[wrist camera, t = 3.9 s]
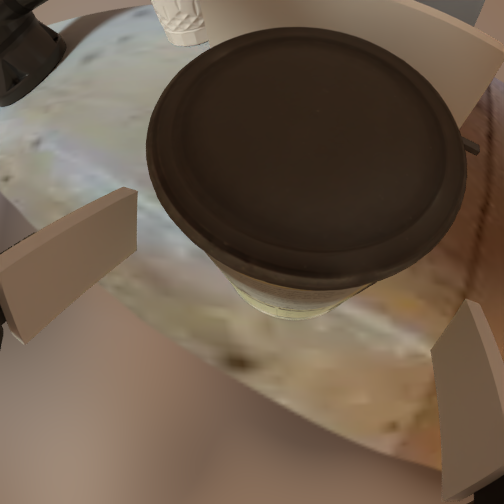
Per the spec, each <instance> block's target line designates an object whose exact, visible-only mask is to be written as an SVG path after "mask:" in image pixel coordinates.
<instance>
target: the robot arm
mask: <svg viewBox="0 0 504 504" xmlns="http://www.w3.org/2000/svg"><path fill="white" fill-rule="evenodd" d="M46 1H48V0H0V107H5V106H8V105H10V104H12V103H14V102H16V101H17V100H19V99H20V98H22V97H23V96H24V95H26V94H27V93H28V92H29V91H31V90H32V89H33V88H34V87H35V86H36V85H37V84H39V83H40V82H41V81H42V80H43V79H44V78H45V77H46V76H47V75H48V74H49V72H50V71H51V70H52V69H53V68H54V67H55V66H56V64H57V63H58V62H59V60H60V59H61V57H62V56H63V54H64V52H65V49H66V44H65V42H64V41H63V39H62V37H61V36H60V35H59V34H58V33H56V32H55V31H53V30H52V29H50V28H49V27H47V26H46V25H44V24H43V23H41V22H40V21H38V20H37V18H36V17H35V15H34V14H33V12H32V10H33V9H35V8H36V7H38V6H39V5H41V4H43V3H45V2H46ZM137 194H138V191H136V190H132V189H129V188H126V187H122V188H120V189H117V190H115V191H113V192H111V193H109V194H107V195H105V196H103V197H101V198H99V199H97V200H95V201H93V202H91V203H89V204H87V205H85V206H83V207H81V208H79V209H77V210H76V211H74V212H72V213H70V214H68V215H66V216H64V217H62V218H61V219H59V220H57V221H55V222H53V223H52V224H50V225H48V226H46V227H45V228H43V229H41V230H39V231H38V232H35V233H33V234H31V235H29V236H28V237H26V238H24V239H23V240H22V241H19V242H18V243H16V244H15V245H14V246H13V247H12V246H11V247H10V248H8V249H7V250H5V251H3V252H2V253H0V349H1V343H2V338H3V328H2V324H3V323H5V321H7V324H8V326H9V329H10V331H11V333H12V335H13V336H14V337H16V338H17V339H18V340H19V341H20V342H21V343H23V344H24V345H26V344H27V343H28V342H29V341H30V340H31V339H32V338H34V337H35V336H36V335H37V334H38V333H39V332H40V331H41V330H42V329H43V328H44V327H46V326H47V325H48V324H49V323H50V322H51V321H52V320H53V319H54V318H56V317H57V316H58V315H59V314H60V313H61V312H62V311H64V310H65V309H66V308H67V307H68V306H69V305H71V304H72V303H73V302H74V301H75V300H76V299H77V298H79V297H80V296H81V295H82V294H83V293H85V292H86V291H87V290H88V289H89V288H91V287H92V286H93V285H94V284H95V283H97V282H98V281H99V280H100V279H101V278H103V277H104V276H105V275H106V274H108V273H109V272H110V271H111V270H112V269H114V268H115V267H116V266H117V265H119V264H120V263H121V262H123V261H124V260H125V259H126V258H128V257H129V256H130V255H131V254H133V253H134V252H135V251H137ZM430 351H431V356H432V362H433V369H434V375H435V382H436V390H437V398H438V407H439V418H440V431H441V448H442V501H460V500H462V499H464V498H466V497H468V496H470V495H472V494H474V501H472V502H470V503H468V504H504V363H503V360H502V357H501V354H500V352H499V349H498V346H497V344H496V341H495V339H494V336H493V334H492V331H491V329H490V326H489V324H488V322H487V319H486V317H485V315H484V312H483V310H482V308H481V306H480V304H479V303H476V302H474V301H471V300H468V299H465V300H464V302H463V303H462V305H461V306H460V308H459V310H458V311H457V313H456V314H455V316H454V317H453V319H452V320H451V322H450V323H449V325H448V326H447V328H446V329H445V331H444V332H443V334H442V335H441V337H440V338H439V339H438V341H437V342H436V344H435V345H434V346H433V348H432V349H431V350H430Z"/></svg>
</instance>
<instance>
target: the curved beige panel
mask: <svg viewBox="0 0 504 504" xmlns="http://www.w3.org/2000/svg"><path fill="white" fill-rule="evenodd" d="M199 2H200V6H201V10H202V14H203V19H204V23H205V27H206V31H207V35H208V40H209V44H210V48H212V47H214V46H216V45H218V44H220V43H222V42H224V41H227V40H229V39H232V38H234V37H237V36H240V35H243V34H246V33H250V32H254V31H259V30H264V29H270V28H279V27H311V28H321V29H328V30H333V31H338V32H342V33H346V34H349V35H353V36H356V37H359V38H362V39H364V40H367V41H369V42H372V43H374V44H376V45H378V46H380V47H382V48H384V49H386V50H388V51H389V52H391V53H393V54H394V55H396V56H397V57H399V58H401V59H402V60H404V61H405V62H406V63H408V64H409V65H410V66H412V67H413V68H414V69H415V70H417V71H418V72H419V73H420V74H421V75H422V76H423V77H425V78H426V79H427V80H428V81H429V83H430V84H431V85H432V86H433V87H434V88H435V89H436V91H437V92H438V93H439V94H440V96H441V97H442V99H443V100H444V101H445V103H446V105H447V106H448V108H449V110H450V111H451V113H452V115H453V117H454V119H455V121H456V124H457V126H458V129H460V128H461V126H462V125H463V123H464V122H465V120H466V119H467V118H468V116H469V115H470V113H471V112H472V110H473V109H474V107H475V106H476V104H477V103H478V101H479V100H480V98H481V97H482V95H483V94H484V92H485V91H486V89H487V87H488V86H489V84H490V83H491V81H492V80H493V78H494V76H495V75H496V73H497V71H498V70H499V68H500V67H501V65H502V63H503V62H504V46H503V44H502V43H501V42H499V41H498V40H496V39H494V38H493V37H491V36H489V35H487V34H485V33H484V32H482V31H480V30H478V29H476V28H475V27H473V26H471V25H469V24H467V23H465V22H463V21H461V20H459V19H457V18H455V17H452V16H450V15H448V14H446V13H444V12H441V11H439V10H437V9H434V8H432V7H430V6H427V5H425V4H422V3H419V2H417V1H414V0H199ZM461 137H462V136H461ZM462 140H463V143H464V148H465V150H466V151H468V152H470V153H472V154H474V155H476V156H477V154H478V153H479V152H480V149H479V145H478V144H476V143H474V142H472V141H470V140H468V139H466V138H464V137H462Z"/></svg>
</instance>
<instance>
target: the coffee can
mask: <svg viewBox="0 0 504 504" xmlns="http://www.w3.org/2000/svg"><path fill="white" fill-rule="evenodd" d="M146 160H147V165H148V170H149V175H150V179H151V181H152V184H153V187H154V190H155V192H156V195H157V197H158V199H159V201H160V203H161V205H162V206H163V208H164V209H165V211H166V212H167V214H168V215H169V217H170V218H171V219H172V220H173V221H174V223H175V224H176V225H177V226H178V227H179V228H180V229H181V231H182V232H183V233H184V234H185V235H186V236H187V237H188V238H189V239H190V240H191V241H192V242H194V243H195V244H196V245H197V246H198V247H200V248H201V249H202V250H204V251H205V253H206V254H207V255H208V256H209V257H210V259H211V260H212V261H213V262H214V263H215V264H216V266H217V267H218V268H219V269H220V270H221V271H222V273H223V274H224V275H225V276H226V278H227V279H228V280H229V281H230V282H231V283H232V285H233V287H234V288H235V289H236V291H237V292H238V294H239V295H240V296H241V297H242V298H243V299H244V300H245V301H246V302H247V303H249V304H250V305H251V306H253V307H254V308H256V309H257V310H259V311H261V312H263V313H264V314H267V315H270V316H273V317H276V318H281V319H288V320H302V319H310V318H314V317H318V316H321V315H323V314H325V313H327V312H329V311H331V310H333V309H334V308H336V307H337V306H339V305H340V304H341V303H343V302H344V301H346V300H348V299H349V298H351V297H353V296H354V295H356V294H358V293H360V292H361V291H363V290H364V289H366V288H368V287H369V286H371V285H373V284H375V283H376V282H377V281H380V280H383V279H385V278H388V277H390V276H393V275H395V274H397V273H399V272H401V271H402V270H404V269H406V268H408V267H410V266H411V265H413V264H414V263H416V262H417V261H418V260H420V259H421V258H422V257H423V256H425V255H426V254H427V253H429V252H430V251H431V250H432V249H433V248H434V247H435V246H436V245H437V244H438V243H439V242H440V241H441V239H442V238H443V237H444V235H445V234H446V233H447V232H448V230H449V228H450V227H451V225H452V224H453V222H454V220H455V218H456V215H457V213H458V211H459V209H460V207H461V203H462V200H463V197H464V193H465V188H466V178H467V161H466V153H465V148H464V143H463V140H462V137H461V134H460V131H459V129H458V126H457V124H456V121H455V119H454V117H453V115H452V113H451V111H450V110H449V108H448V106H447V105H446V103H445V101H444V100H443V99H442V97H441V96H440V94H439V93H438V92H437V91H436V89H435V88H434V87H433V86H432V85H431V84H430V83H429V81H428V80H427V79H426V78H425V77H423V76H422V75H421V74H420V73H419V72H418V71H417V70H415V69H414V68H413V67H412V66H410V65H409V64H408V63H406V62H405V61H404V60H402V59H401V58H399V57H397V56H396V55H394V54H393V53H391V52H389V51H388V50H386V49H384V48H382V47H380V46H378V45H376V44H374V43H372V42H369V41H367V40H364V39H362V38H359V37H356V36H353V35H349V34H346V33H342V32H338V31H333V30H328V29H321V28H311V27H279V28H270V29H264V30H259V31H254V32H250V33H246V34H243V35H240V36H237V37H234V38H232V39H229V40H227V41H224V42H222V43H220V44H218V45H216V46H214V47H212V48H210V49H209V50H207V51H205V52H204V53H202V54H200V55H199V56H198V57H196V58H195V59H194V60H192V61H191V62H190V63H188V64H187V65H186V66H185V67H184V68H183V69H181V70H180V71H179V72H178V74H177V75H176V76H175V77H174V78H173V79H172V80H171V82H170V83H169V84H168V85H167V87H166V88H165V90H164V91H163V93H162V94H161V96H160V98H159V100H158V102H157V104H156V106H155V108H154V110H153V113H152V115H151V118H150V122H149V127H148V132H147V139H146Z"/></svg>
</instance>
